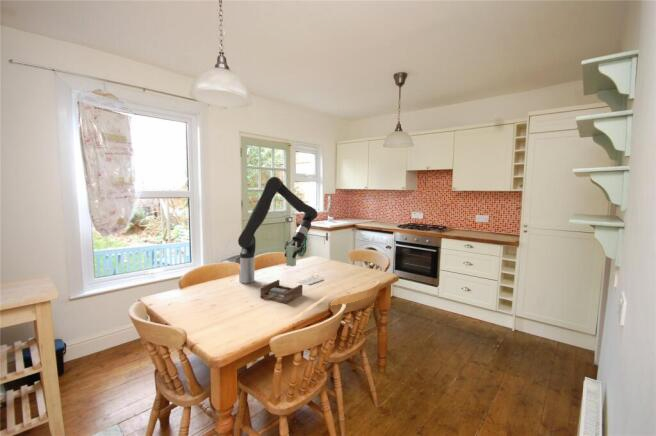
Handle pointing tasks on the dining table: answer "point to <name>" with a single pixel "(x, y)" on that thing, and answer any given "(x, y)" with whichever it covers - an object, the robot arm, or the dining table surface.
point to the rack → (288, 296)
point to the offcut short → (278, 291)
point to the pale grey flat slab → (310, 280)
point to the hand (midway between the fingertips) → (289, 257)
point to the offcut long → (276, 295)
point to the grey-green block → (290, 255)
